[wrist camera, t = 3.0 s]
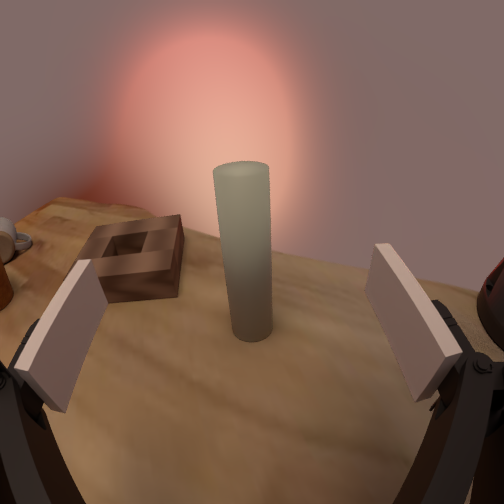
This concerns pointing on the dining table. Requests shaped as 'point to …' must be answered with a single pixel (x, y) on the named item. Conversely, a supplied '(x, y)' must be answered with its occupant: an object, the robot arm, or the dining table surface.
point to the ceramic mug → (11, 240)
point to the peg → (246, 245)
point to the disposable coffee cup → (4, 287)
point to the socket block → (137, 258)
